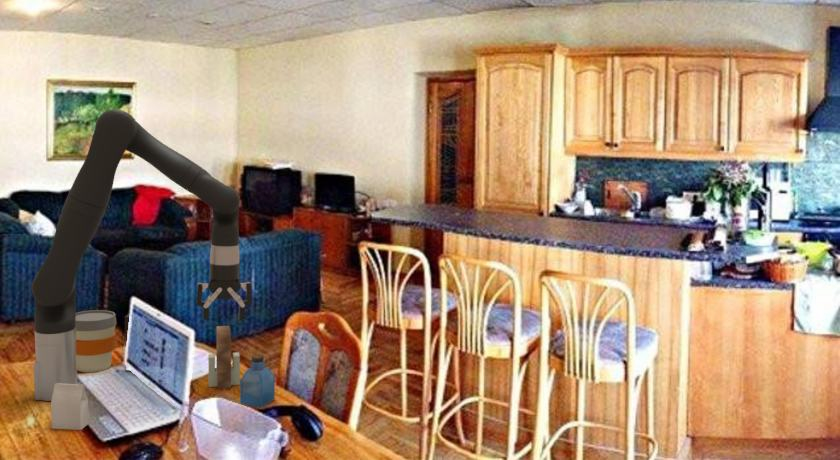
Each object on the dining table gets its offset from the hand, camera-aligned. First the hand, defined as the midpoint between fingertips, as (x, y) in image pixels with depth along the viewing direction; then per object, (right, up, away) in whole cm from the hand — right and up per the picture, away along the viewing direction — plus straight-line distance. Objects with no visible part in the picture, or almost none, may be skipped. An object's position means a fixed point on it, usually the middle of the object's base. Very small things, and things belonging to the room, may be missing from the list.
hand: (223, 320), depth 194 cm
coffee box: (-26, -15, +11) cm, 32 cm away
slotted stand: (-1, -17, +3) cm, 18 cm away
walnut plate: (-1, -17, +3) cm, 18 cm away
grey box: (-28, -21, -28) cm, 44 cm away
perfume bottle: (+11, -20, -9) cm, 24 cm away
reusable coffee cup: (-40, -15, +12) cm, 45 cm away
